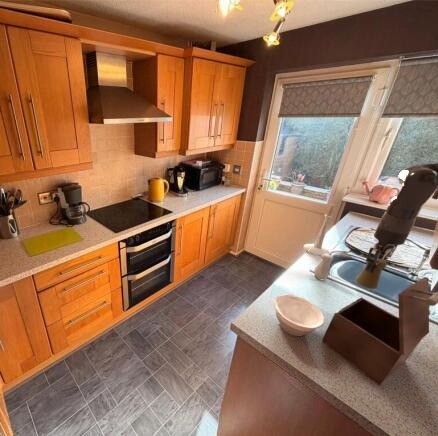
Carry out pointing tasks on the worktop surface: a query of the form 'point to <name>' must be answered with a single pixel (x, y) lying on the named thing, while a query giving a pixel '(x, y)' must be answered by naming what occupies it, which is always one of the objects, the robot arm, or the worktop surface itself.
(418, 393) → the worktop surface
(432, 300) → the lid
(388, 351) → the chest
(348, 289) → the worktop surface
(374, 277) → the cork
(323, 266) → the salt shaker
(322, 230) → the candlestick
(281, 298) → the bowl
